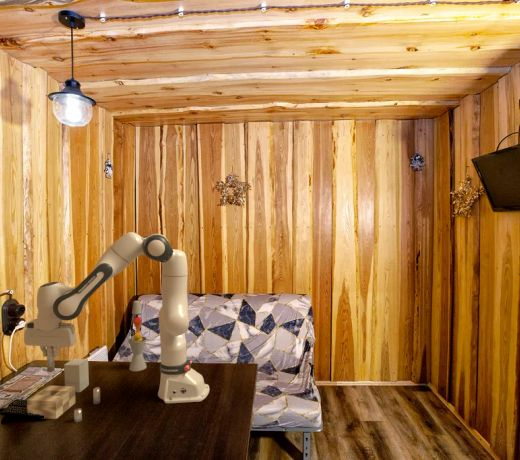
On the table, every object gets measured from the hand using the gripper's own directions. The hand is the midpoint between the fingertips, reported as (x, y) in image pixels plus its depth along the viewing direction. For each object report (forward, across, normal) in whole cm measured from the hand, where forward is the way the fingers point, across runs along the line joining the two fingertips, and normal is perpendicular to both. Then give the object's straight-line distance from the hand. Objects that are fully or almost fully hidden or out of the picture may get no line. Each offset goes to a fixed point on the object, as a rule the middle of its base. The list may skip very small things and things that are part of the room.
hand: (50, 356), depth 142 cm
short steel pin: (+22, -15, +6) cm, 28 cm away
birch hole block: (+22, 0, 0) cm, 22 cm away
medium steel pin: (+22, -15, -7) cm, 28 cm away
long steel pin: (+6, 0, 0) cm, 6 cm away
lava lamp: (+22, -17, -42) cm, 51 cm away
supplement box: (+22, +1, -18) cm, 29 cm away
